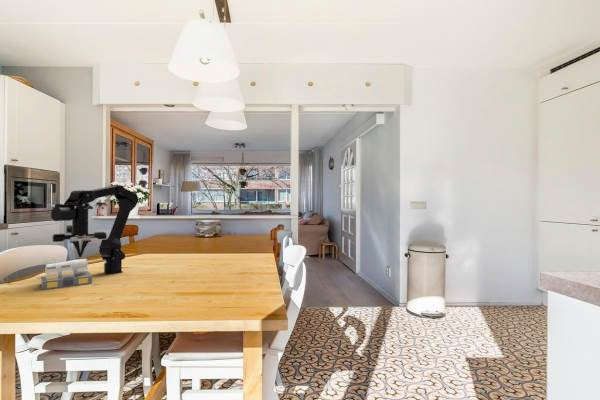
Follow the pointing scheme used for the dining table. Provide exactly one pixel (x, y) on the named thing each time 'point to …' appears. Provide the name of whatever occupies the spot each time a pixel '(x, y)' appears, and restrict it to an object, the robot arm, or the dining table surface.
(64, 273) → the switch
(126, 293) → the dining table surface
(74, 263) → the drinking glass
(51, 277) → the switch
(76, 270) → the switch
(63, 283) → the pill organizer box
